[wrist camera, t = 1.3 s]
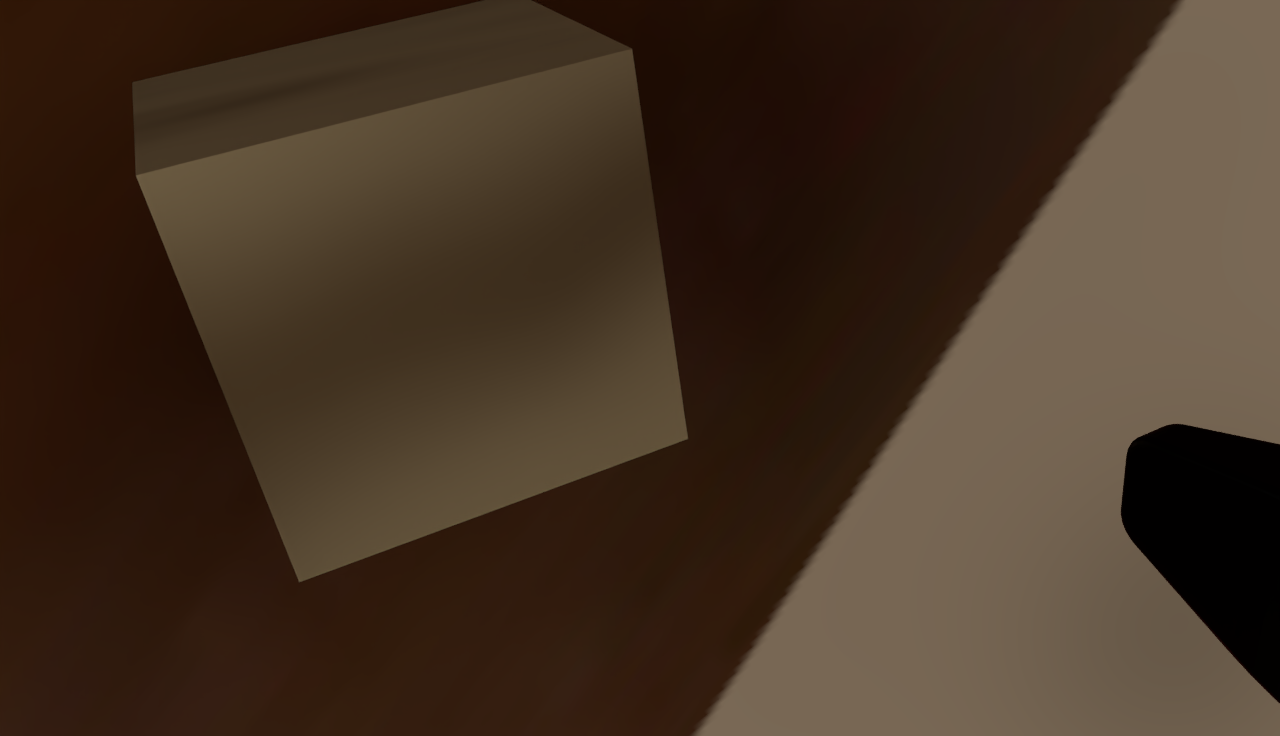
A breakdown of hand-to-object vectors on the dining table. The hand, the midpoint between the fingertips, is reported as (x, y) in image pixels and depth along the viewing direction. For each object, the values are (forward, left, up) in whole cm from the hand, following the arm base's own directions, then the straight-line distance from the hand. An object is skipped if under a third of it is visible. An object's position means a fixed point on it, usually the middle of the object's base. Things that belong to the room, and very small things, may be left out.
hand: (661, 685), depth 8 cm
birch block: (0, 0, -12) cm, 12 cm away
